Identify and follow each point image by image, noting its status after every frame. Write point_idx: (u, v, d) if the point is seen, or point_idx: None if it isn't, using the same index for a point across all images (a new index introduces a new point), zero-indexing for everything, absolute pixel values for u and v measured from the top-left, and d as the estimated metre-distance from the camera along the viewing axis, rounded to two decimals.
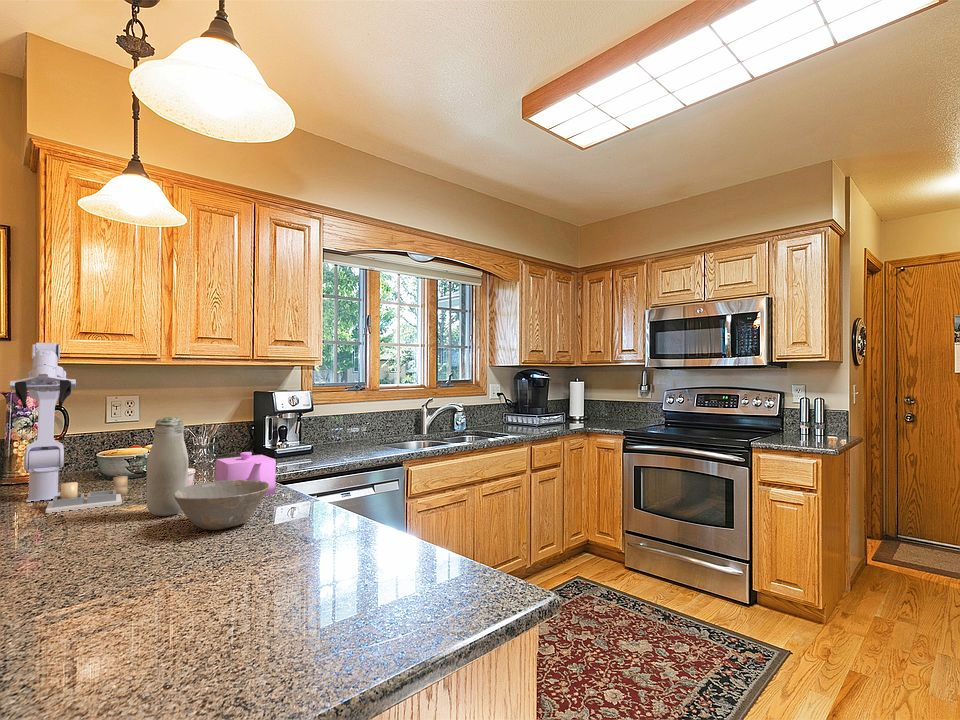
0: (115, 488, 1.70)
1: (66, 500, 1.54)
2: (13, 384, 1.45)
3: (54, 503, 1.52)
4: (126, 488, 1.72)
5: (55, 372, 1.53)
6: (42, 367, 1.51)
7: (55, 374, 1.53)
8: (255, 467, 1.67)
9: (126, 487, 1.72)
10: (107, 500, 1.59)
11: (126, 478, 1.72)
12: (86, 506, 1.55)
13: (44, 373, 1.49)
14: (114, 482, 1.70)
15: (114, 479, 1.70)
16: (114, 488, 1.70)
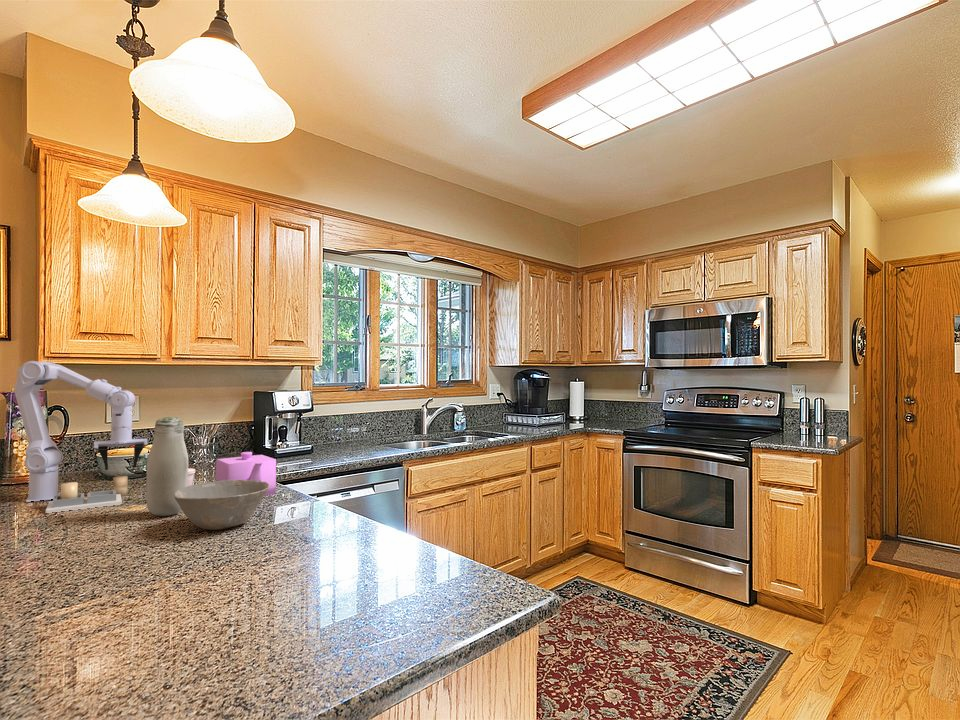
0: (115, 488, 1.70)
1: (66, 500, 1.54)
2: (97, 446, 1.67)
3: (54, 503, 1.52)
4: (126, 488, 1.72)
5: (131, 431, 1.73)
6: (120, 430, 1.70)
7: (131, 433, 1.73)
8: (256, 467, 1.67)
9: (126, 487, 1.72)
10: (107, 500, 1.59)
11: (126, 478, 1.72)
12: (86, 506, 1.55)
13: (122, 442, 1.69)
14: (114, 482, 1.70)
15: (114, 479, 1.70)
16: (114, 488, 1.70)
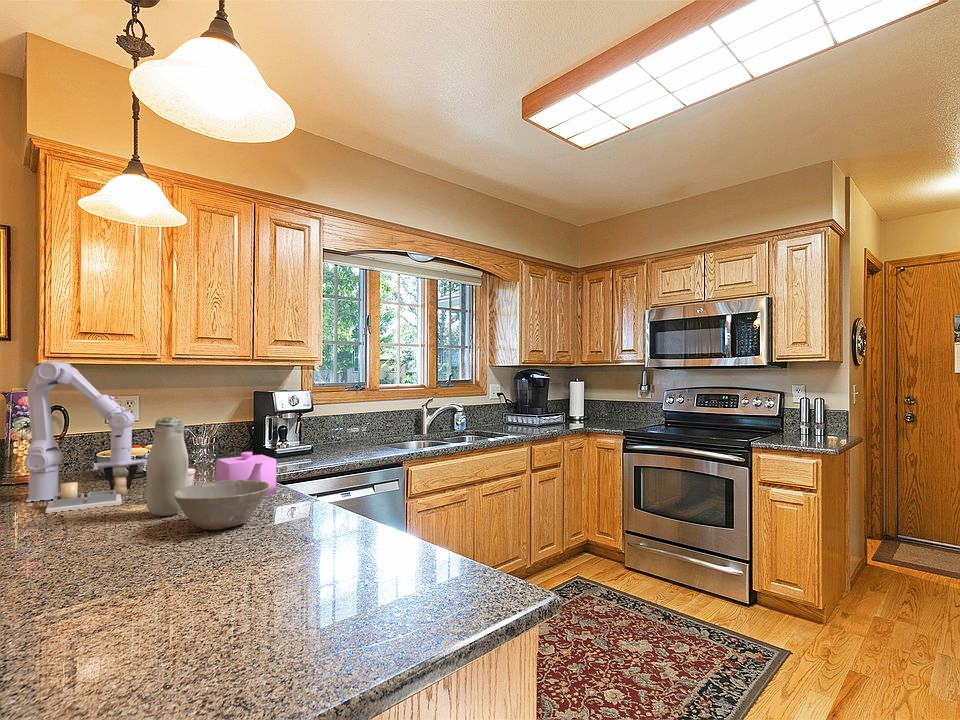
0: (115, 488, 1.70)
1: (66, 500, 1.54)
2: (96, 468, 1.67)
3: (54, 503, 1.52)
4: (126, 488, 1.72)
5: (130, 452, 1.73)
6: (120, 452, 1.70)
7: (130, 455, 1.73)
8: (256, 467, 1.67)
9: (126, 487, 1.72)
10: (107, 500, 1.59)
11: (126, 478, 1.72)
12: (86, 506, 1.55)
13: (122, 464, 1.69)
14: (114, 482, 1.70)
15: (114, 479, 1.70)
16: (114, 488, 1.70)
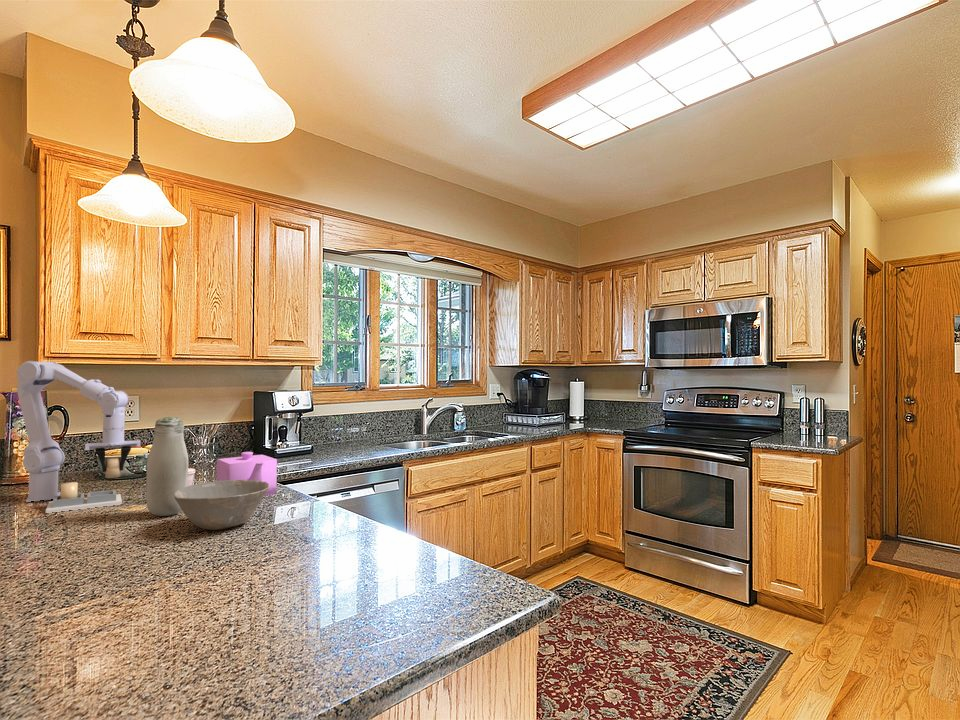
0: (107, 469, 1.65)
1: (66, 500, 1.54)
2: (88, 448, 1.63)
3: (54, 503, 1.52)
4: (119, 469, 1.68)
5: (123, 433, 1.68)
6: (112, 432, 1.65)
7: (123, 435, 1.68)
8: (257, 467, 1.67)
9: (119, 468, 1.68)
10: (107, 500, 1.59)
11: (119, 459, 1.67)
12: (86, 506, 1.55)
13: (114, 444, 1.65)
14: (106, 463, 1.66)
15: (106, 460, 1.66)
16: (106, 469, 1.66)
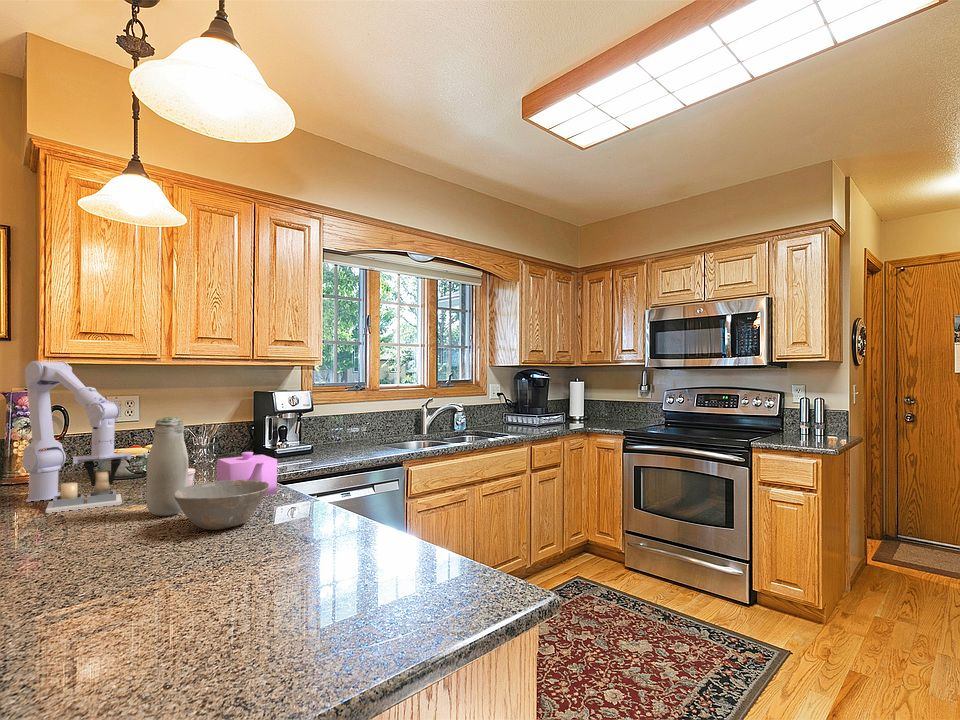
0: (96, 483, 1.60)
1: (66, 500, 1.54)
2: (76, 462, 1.57)
3: (54, 503, 1.52)
4: (108, 483, 1.62)
5: (113, 445, 1.62)
6: (101, 445, 1.59)
7: (113, 448, 1.62)
8: (257, 467, 1.67)
9: (108, 482, 1.62)
10: (107, 500, 1.59)
11: (108, 473, 1.62)
12: (86, 506, 1.55)
13: (104, 457, 1.59)
14: (95, 477, 1.60)
15: (95, 474, 1.60)
16: (95, 483, 1.60)
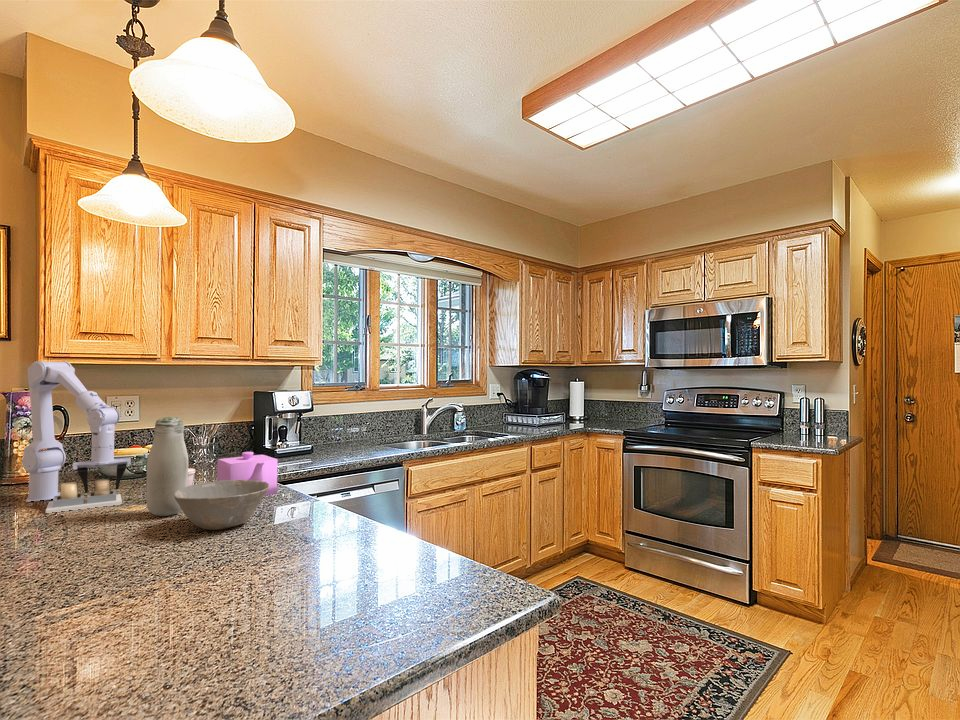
0: (96, 492, 1.60)
1: (66, 500, 1.54)
2: (76, 468, 1.57)
3: (54, 503, 1.52)
4: (108, 492, 1.62)
5: (112, 451, 1.62)
6: (101, 450, 1.59)
7: (112, 453, 1.62)
8: (257, 467, 1.67)
9: (108, 491, 1.62)
10: (107, 500, 1.59)
11: (108, 481, 1.62)
12: (86, 506, 1.55)
13: (103, 463, 1.59)
14: (95, 486, 1.60)
15: (95, 482, 1.60)
16: (95, 492, 1.60)
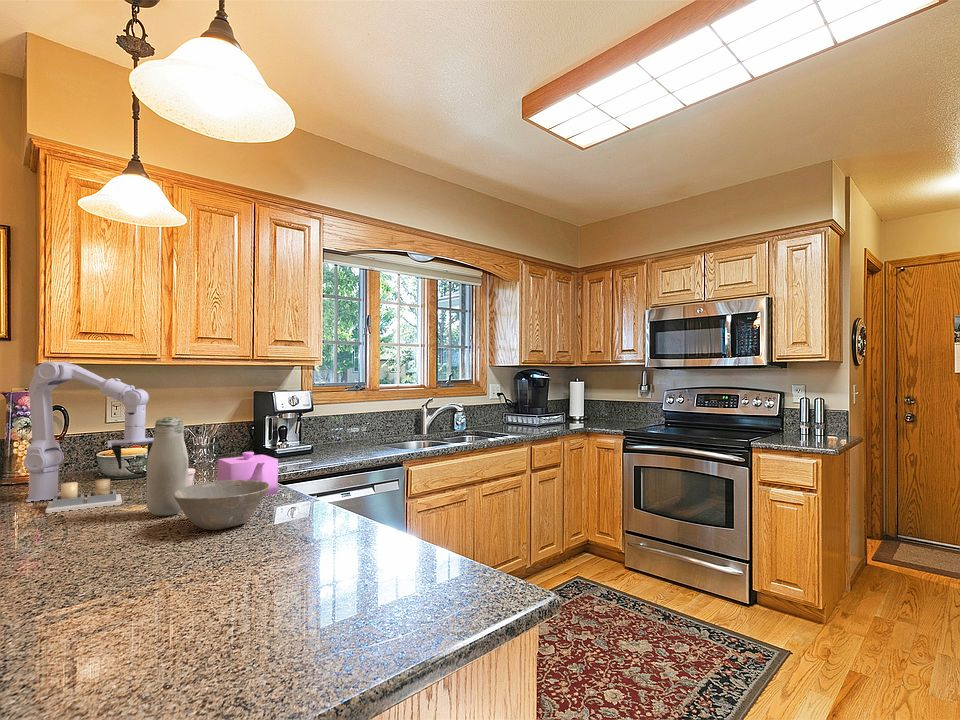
0: (96, 492, 1.60)
1: (66, 500, 1.54)
2: (110, 445, 1.66)
3: (54, 503, 1.52)
4: (108, 492, 1.62)
5: (144, 430, 1.71)
6: (134, 429, 1.68)
7: (144, 432, 1.71)
8: (258, 467, 1.67)
9: (108, 491, 1.62)
10: (107, 500, 1.59)
11: (108, 481, 1.62)
12: (86, 506, 1.55)
13: (136, 441, 1.68)
14: (95, 485, 1.60)
15: (95, 482, 1.60)
16: (95, 492, 1.60)
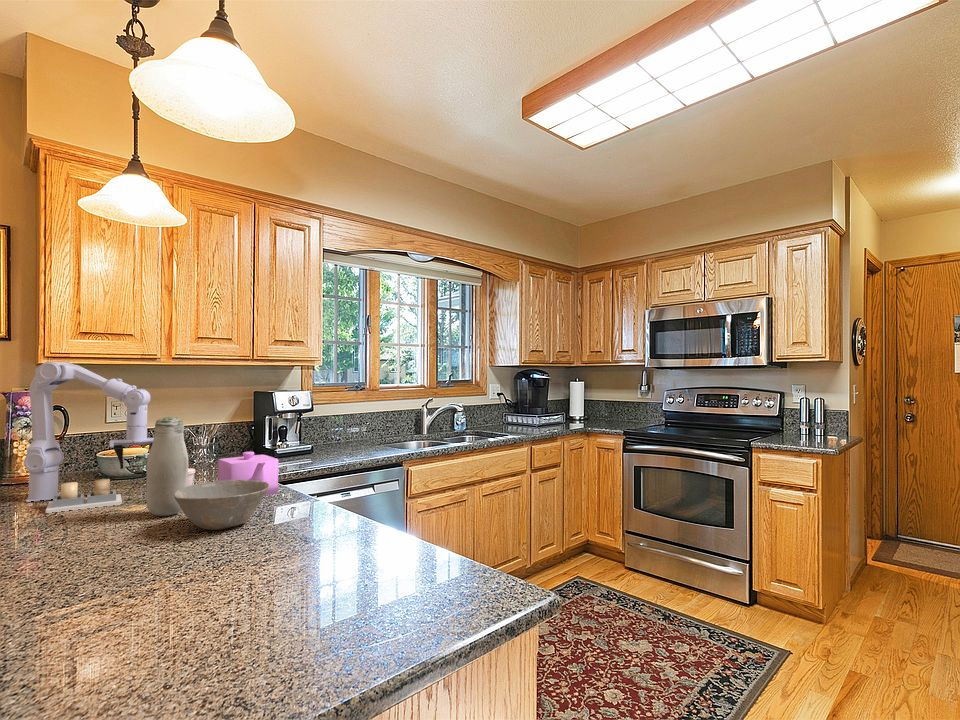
0: (95, 492, 1.60)
1: (66, 500, 1.54)
2: (112, 445, 1.67)
3: (54, 503, 1.52)
4: (108, 492, 1.62)
5: (146, 430, 1.72)
6: (136, 429, 1.69)
7: (146, 432, 1.72)
8: (259, 467, 1.67)
9: (108, 491, 1.62)
10: (107, 500, 1.59)
11: (108, 481, 1.62)
12: (86, 506, 1.55)
13: (138, 441, 1.68)
14: (95, 485, 1.60)
15: (95, 482, 1.60)
16: (95, 492, 1.60)
